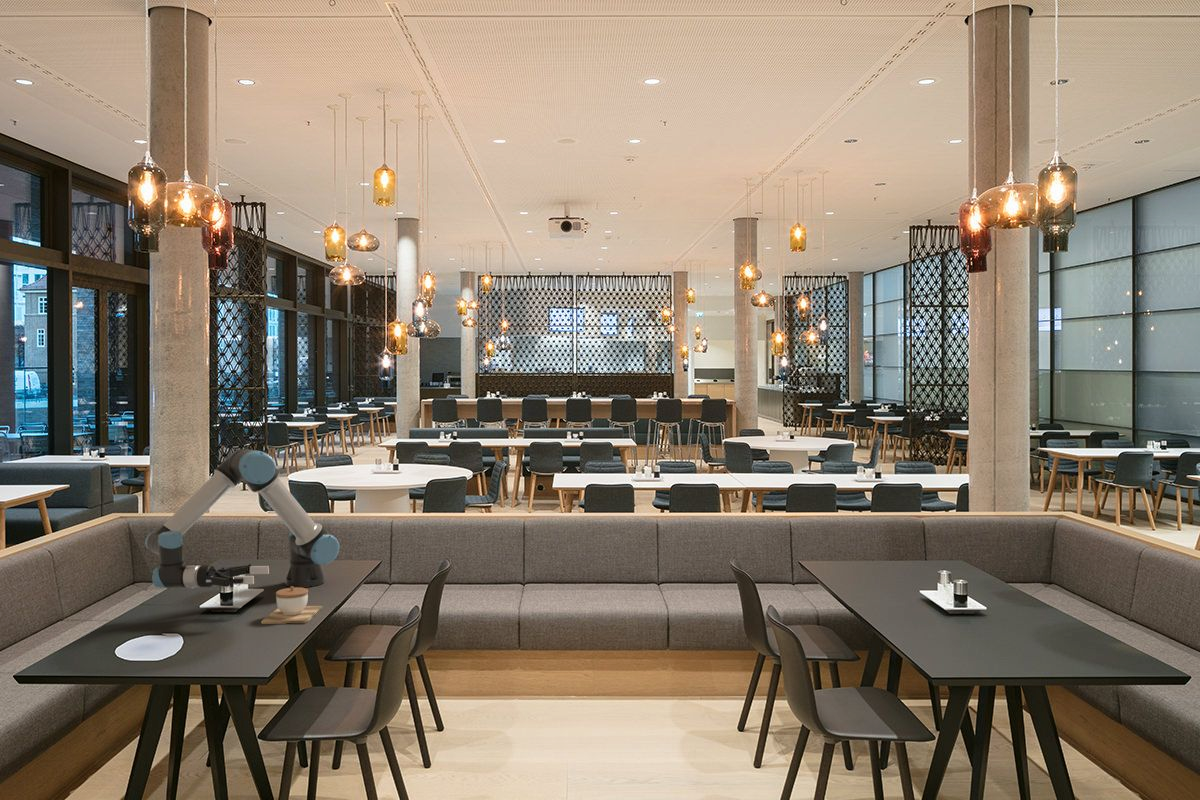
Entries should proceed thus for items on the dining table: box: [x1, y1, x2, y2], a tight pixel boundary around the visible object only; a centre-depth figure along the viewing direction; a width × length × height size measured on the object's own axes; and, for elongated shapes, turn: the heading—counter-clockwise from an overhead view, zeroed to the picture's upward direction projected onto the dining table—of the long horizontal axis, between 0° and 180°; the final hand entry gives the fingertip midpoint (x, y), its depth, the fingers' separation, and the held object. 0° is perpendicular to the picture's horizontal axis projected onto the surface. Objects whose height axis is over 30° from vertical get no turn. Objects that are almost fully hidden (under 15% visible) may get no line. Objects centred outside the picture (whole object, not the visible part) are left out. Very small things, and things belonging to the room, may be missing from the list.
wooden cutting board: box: [261, 605, 323, 625], centre depth 305 cm, size 18×15×1 cm
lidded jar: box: [275, 586, 309, 616], centre depth 305 cm, size 11×11×9 cm
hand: (261, 574), depth 304 cm, fingers open, 13 cm apart
